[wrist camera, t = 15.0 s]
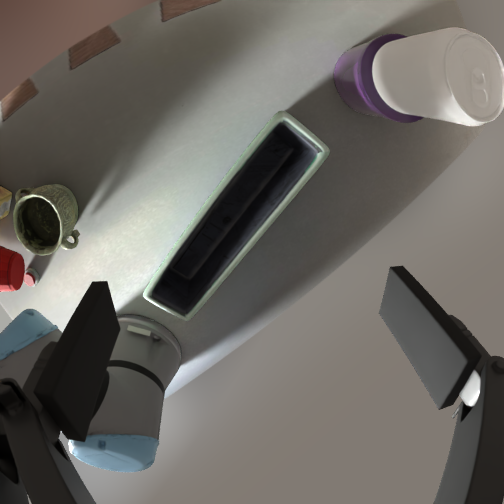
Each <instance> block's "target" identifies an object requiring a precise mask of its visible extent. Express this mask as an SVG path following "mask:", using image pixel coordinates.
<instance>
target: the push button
mask: <svg viewBox="0 0 504 504" xmlns="http://www.w3.org/2000/svg"><path fill="white" fill-rule="evenodd" d="M24 282H25V283H26V284H27V285H28V286H36V285H37V283H38V282H39V275H38V273H37V271H36V270H34V269H32V268H28V269H27V270H26V271H25V273H24Z"/></svg>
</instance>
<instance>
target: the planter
mask: <svg viewBox="0 0 504 504" xmlns="http://www.w3.org/2000/svg"><path fill="white" fill-rule="evenodd" d="M329 153H330V151H329V148H328V147H327V145H326V144H325V143H323V142H322V141H321V140H320V139H319V138H318V137H317V136H315V135H314V134H313V133H312V132H311V131H310V130H308V129H307V128H306V127H305V126H304V125H302V124H301V123H300V122H299V121H298V120H296V119H295V118H294V117H293V116H291V115H290V114H289V113H287V112H285V111H279V112H278V113H277V114H275V115H274V116H273V118H272V119H271V120H270V121H269V122H268V123H267V124H266V126H265V127H264V128H263V129H262V130H261V132H260V133H259V134H258V135H257V136H256V138H255V139H254V140H253V141H252V143H251V144H250V145H249V146H248V148H247V149H246V150H245V151H244V153H243V154H242V155H241V156H240V158H239V159H238V160H237V161H236V163H235V164H234V165H233V167H232V168H231V169H230V170H229V172H228V173H227V174H226V176H225V177H224V178H223V180H222V181H221V182H220V183H219V185H218V186H217V187H216V189H215V190H214V191H213V193H212V194H211V195H210V197H209V198H208V199H207V201H206V202H205V203H204V205H203V206H202V208H201V209H200V210H199V212H198V213H197V214H196V216H195V217H194V219H193V220H192V221H191V223H190V224H189V225H188V227H187V228H186V230H185V231H184V232H183V234H182V235H181V237H180V238H179V240H178V241H177V242H176V244H175V245H174V247H173V248H172V250H171V251H170V253H169V254H168V255H167V257H166V258H165V260H164V261H163V263H162V264H161V266H160V267H159V269H158V270H157V272H156V273H155V275H154V276H153V278H152V279H151V281H150V282H149V284H148V286H147V287H146V289H145V291H144V294H143V296H144V298H145V299H147V300H148V301H150V302H151V303H153V304H155V305H156V306H158V307H160V308H162V309H163V310H165V311H167V312H169V313H171V314H172V315H174V316H176V317H178V318H180V319H182V320H184V321H189V320H190V319H192V317H193V316H194V315H195V314H196V313H197V312H198V311H199V310H200V308H201V307H202V306H203V305H204V304H205V303H206V301H207V300H208V299H209V298H210V297H211V296H212V294H213V293H214V292H215V291H216V290H217V288H218V287H219V286H220V285H221V284H222V282H223V281H224V280H225V279H226V278H227V277H228V275H229V274H230V273H231V272H232V271H233V269H234V268H235V267H236V266H237V265H238V264H239V262H240V261H241V260H242V259H243V258H244V256H245V255H246V254H247V253H248V252H249V250H250V249H251V248H252V247H253V246H254V245H255V243H256V242H257V241H258V240H259V239H260V237H261V236H262V235H263V234H264V233H265V231H266V230H267V229H268V228H269V227H270V225H271V224H272V223H273V222H274V221H275V220H276V218H277V217H278V216H279V215H280V214H281V212H282V211H283V210H284V209H285V208H286V206H287V205H288V204H289V203H290V202H291V201H292V199H293V198H294V197H295V196H296V195H297V193H298V192H299V191H300V190H301V189H302V187H303V186H304V185H305V184H306V183H307V181H308V180H309V179H310V178H311V177H312V175H313V174H314V173H315V172H316V171H317V169H318V168H319V167H320V166H321V165H322V163H323V162H324V161H325V159H326V158H327V157H328V155H329Z"/></svg>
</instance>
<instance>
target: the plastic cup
mask: <svg viewBox="0 0 504 504" xmlns="http://www.w3.org/2000/svg"><path fill="white" fill-rule="evenodd" d="M24 273H25V265H24V259H23V257H22V255H20V254H19V253H17V252H15V251H12V250H9V249H6V248H4V247H2V246H0V292H1V291H14V290H18V289H20V287H21V285H22V283H23V279H24Z"/></svg>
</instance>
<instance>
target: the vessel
mask: <svg viewBox="0 0 504 504" xmlns="http://www.w3.org/2000/svg"><path fill="white" fill-rule="evenodd" d="M21 193H26V194H28V195H27V196H24V197H22V195H21ZM15 201H16V203H17V204H16V206H15V208H14V212H13V223H14V229H15V232H16V235H17V237H18V239H19V240H20V242H21V243H22V245H23V246H24V247H25V248H26V249H27V250H29V251H30V252H32V253H34V254H37V255H41V256H42V255H49V254H51V253H53V252H55V251H56V250H57V249H58V248H59V246H61V247H62V248H63V249H73V248H75V247H76V246H77V245H78V236H79V235H80V233H79V232H78V230H74V231H73V229H74V226H75V224H76V221H77V218H78V205H77V201H76V198H75V196H74V195H73V193H72V192H71V190H69V189H68V188H66V187H65V186H63V185H59V184H52V185H45V186H41V187H38V188H36V189H35V188H33V187H31V188H29V189H28V188H21V189H19V190H18V191H17V192H16V195H15ZM69 237H71V238H72V239H73V240H74V243H70V242H68V241H67V239H68V238H69Z"/></svg>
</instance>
